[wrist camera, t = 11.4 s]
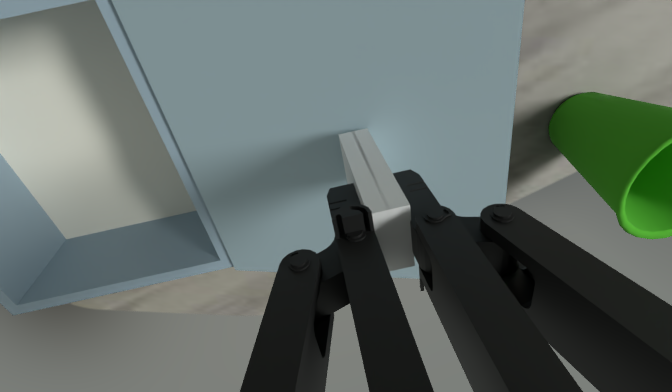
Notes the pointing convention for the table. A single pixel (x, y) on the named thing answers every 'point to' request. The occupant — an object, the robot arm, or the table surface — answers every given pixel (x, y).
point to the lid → (328, 104)
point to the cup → (621, 156)
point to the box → (88, 164)
